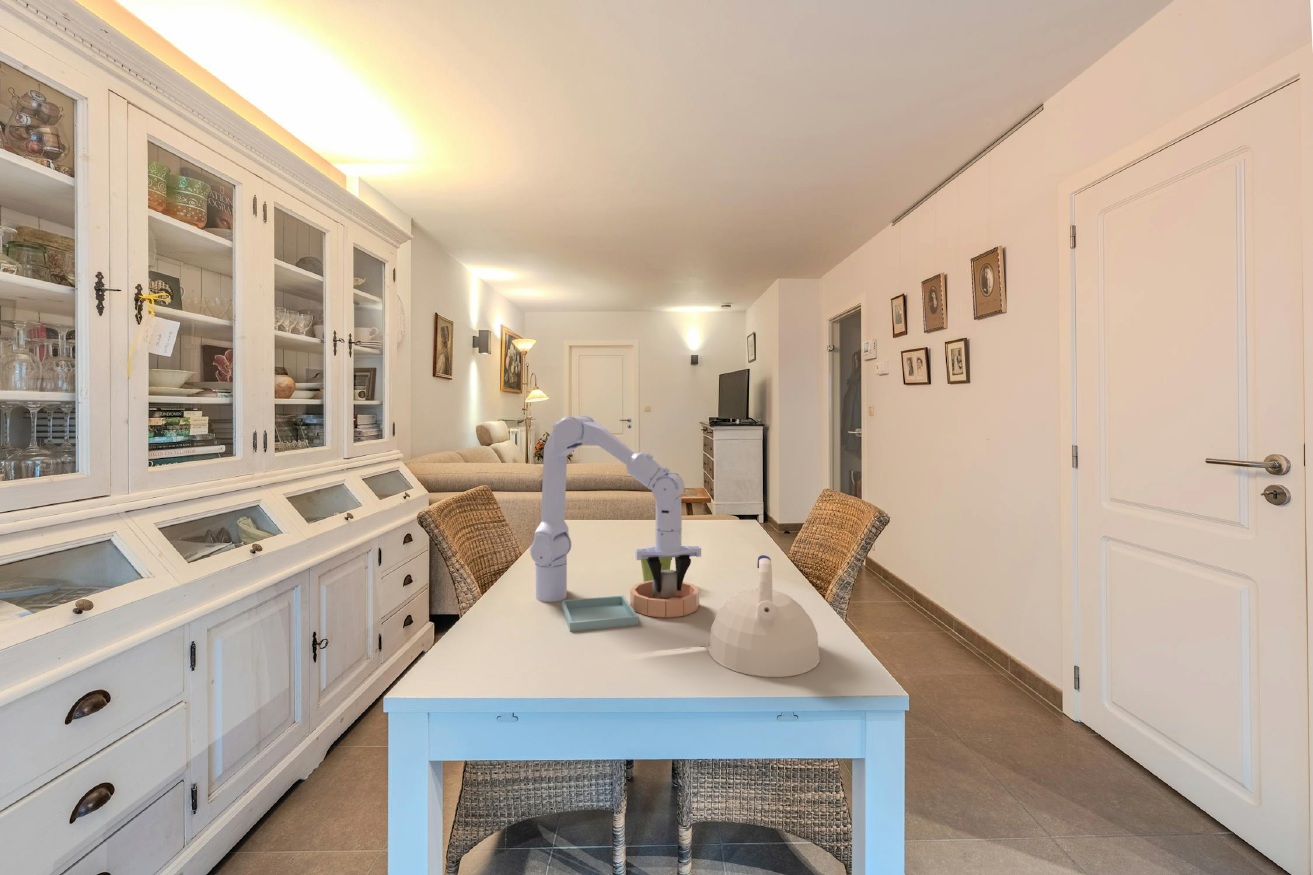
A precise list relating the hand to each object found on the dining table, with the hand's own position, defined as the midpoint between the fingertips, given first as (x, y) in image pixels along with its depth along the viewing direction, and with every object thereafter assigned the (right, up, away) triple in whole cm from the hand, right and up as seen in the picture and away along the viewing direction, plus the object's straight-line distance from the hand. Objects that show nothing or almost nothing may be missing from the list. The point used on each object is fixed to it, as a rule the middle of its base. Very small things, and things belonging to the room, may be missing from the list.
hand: (668, 589), depth 126 cm
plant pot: (-3, -5, +21) cm, 21 cm away
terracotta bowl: (-1, -5, +3) cm, 6 cm away
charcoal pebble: (-1, -4, +5) cm, 7 cm away
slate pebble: (0, -1, 0) cm, 1 cm away
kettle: (+17, -7, -20) cm, 27 cm away
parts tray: (-15, -5, -4) cm, 16 cm away
